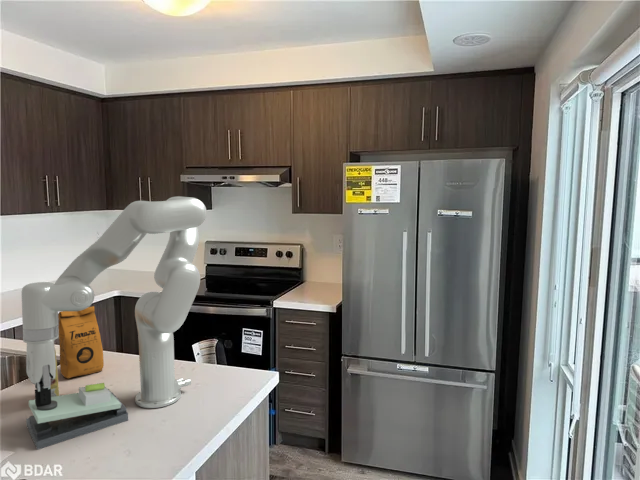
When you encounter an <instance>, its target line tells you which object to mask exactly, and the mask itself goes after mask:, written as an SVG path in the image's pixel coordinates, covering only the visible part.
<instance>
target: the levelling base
mask: <svg viewBox="0 0 640 480" xmlns="http://www.w3.org/2000/svg"><path fill="white" fill-rule="evenodd" d="M113 395H114V396H115V397H116V398H117V399H118V400H119V401H120V402H121V403H122V406H121V408H118V409H113V410H107V411H102V412H97V413H91V414H86V415H81V416H76V417H70V418H65V419H60V420H54V421H49V422H44V423H39V424H38V423H37V421H36V419H35V417H34V415H33V414H32V415H30V416H28V417H27V418H25V422H26V423H25V424H26V427H27V430H28V433H29V434H30V435H29V436H30V437H31V439H32V441H33V443H34V446H35V448H36V450H41V449H44V448H47V447H49V446H52V445H56V444H59V443H62V442H65V441H68V440H71V439H72V440H73V439H75V438H78V437H80V436H84V435H88V434H90V433H94V432H96V431H99V430H102V429H105V428H109V427H111V426H114V425H117V424H122V423H125V422H127V421H129V413H128V411H127V410H128V409H127V407H126V406H125V405H124V403H123V402H122V401H121V400H120V399H119V398H118V397H117V396H116V395H115V394H114V393H113Z"/></svg>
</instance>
